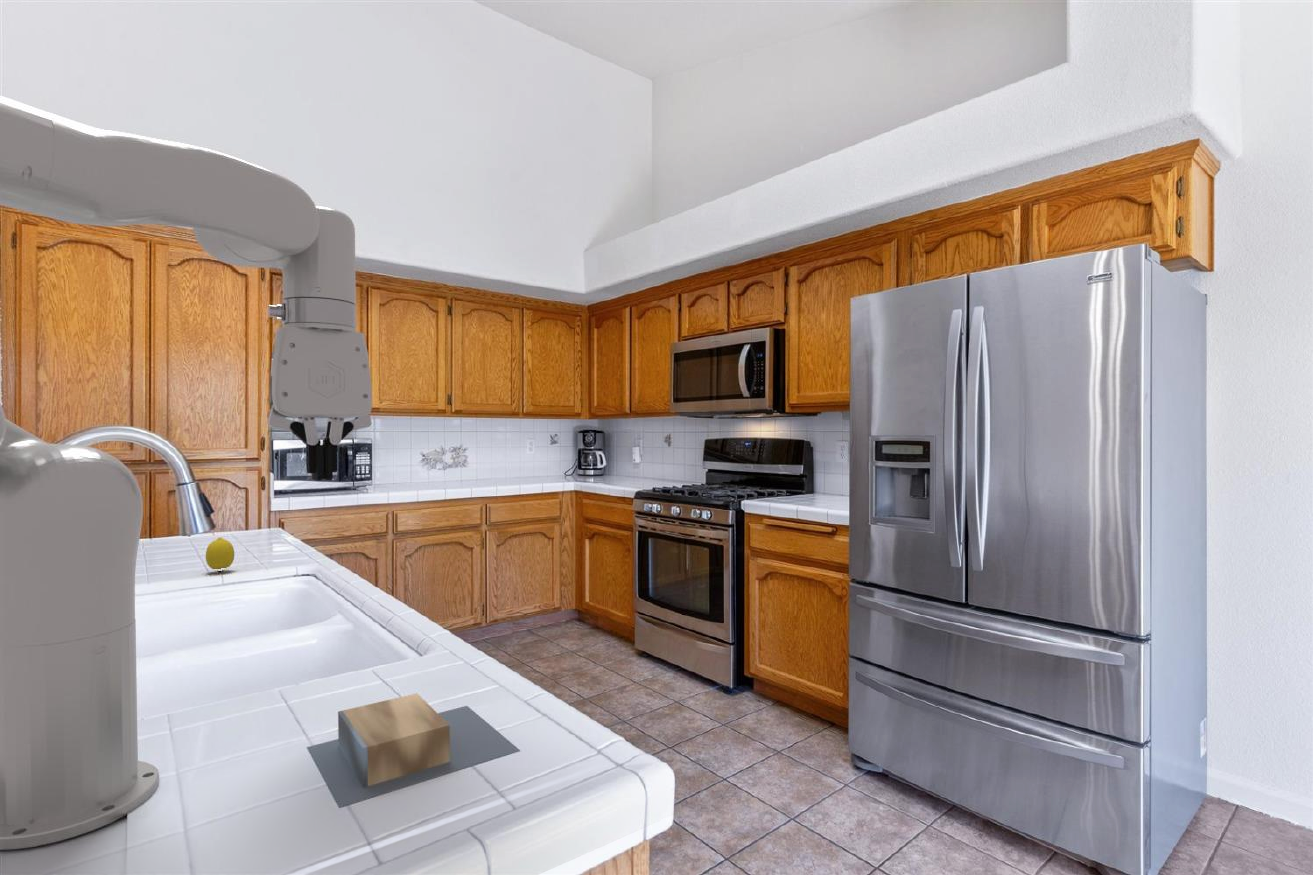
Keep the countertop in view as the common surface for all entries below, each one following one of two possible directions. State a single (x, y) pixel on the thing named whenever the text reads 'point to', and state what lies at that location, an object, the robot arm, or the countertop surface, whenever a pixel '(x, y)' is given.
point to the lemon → (219, 554)
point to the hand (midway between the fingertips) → (322, 479)
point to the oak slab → (393, 738)
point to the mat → (467, 748)
